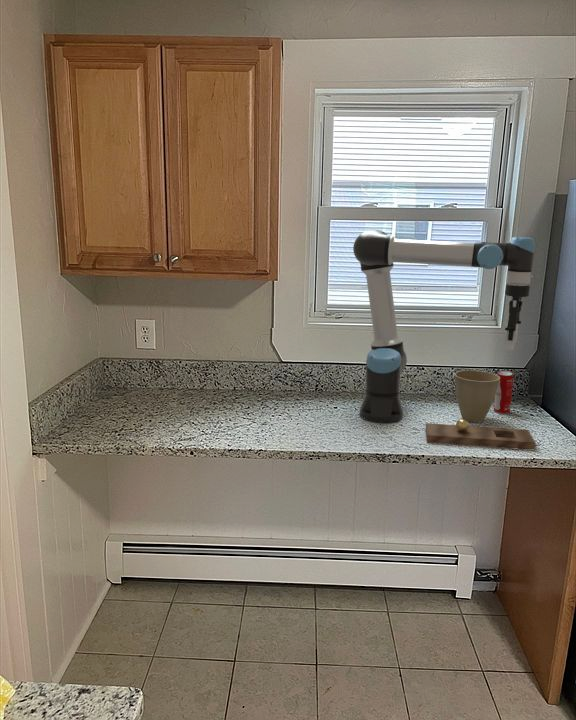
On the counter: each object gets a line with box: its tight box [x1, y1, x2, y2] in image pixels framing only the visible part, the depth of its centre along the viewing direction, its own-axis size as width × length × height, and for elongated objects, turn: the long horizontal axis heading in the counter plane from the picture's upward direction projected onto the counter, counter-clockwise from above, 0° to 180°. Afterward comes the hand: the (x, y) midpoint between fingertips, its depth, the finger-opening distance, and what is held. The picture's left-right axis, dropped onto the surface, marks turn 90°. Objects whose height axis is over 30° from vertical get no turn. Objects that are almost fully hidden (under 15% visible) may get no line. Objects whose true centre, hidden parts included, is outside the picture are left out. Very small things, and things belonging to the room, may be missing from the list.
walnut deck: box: [425, 422, 536, 450], centre depth 184 cm, size 32×11×2 cm, turn 79°
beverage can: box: [493, 370, 514, 415], centre depth 209 cm, size 6×6×15 cm
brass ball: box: [455, 418, 470, 432], centre depth 184 cm, size 4×4×4 cm
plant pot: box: [454, 369, 500, 423], centre depth 201 cm, size 15×15×16 cm
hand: (510, 345), depth 200 cm, fingers open, 13 cm apart
